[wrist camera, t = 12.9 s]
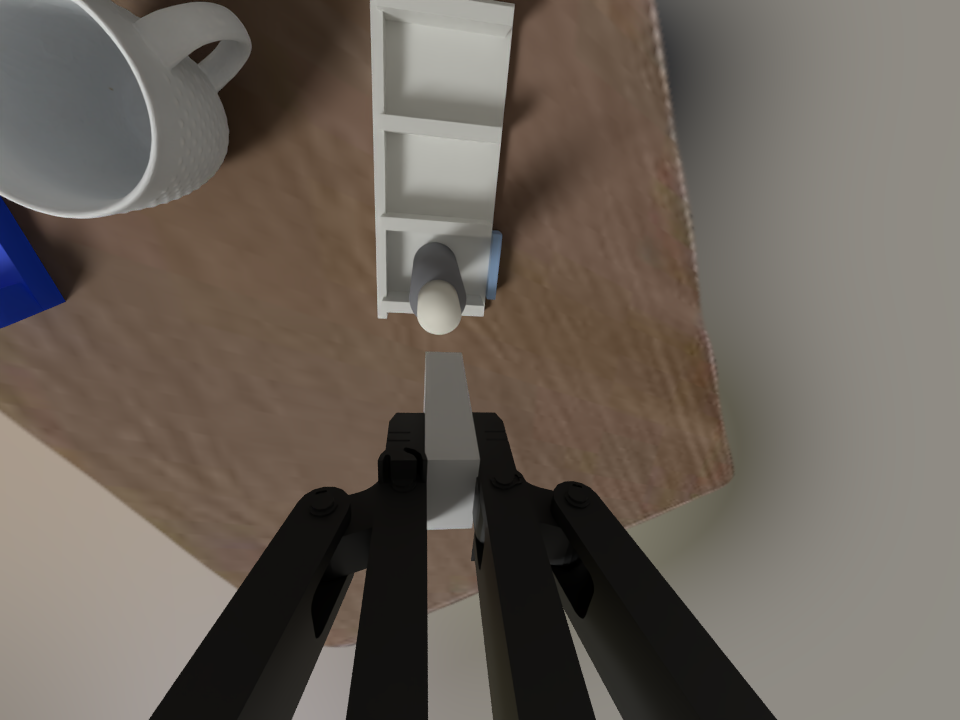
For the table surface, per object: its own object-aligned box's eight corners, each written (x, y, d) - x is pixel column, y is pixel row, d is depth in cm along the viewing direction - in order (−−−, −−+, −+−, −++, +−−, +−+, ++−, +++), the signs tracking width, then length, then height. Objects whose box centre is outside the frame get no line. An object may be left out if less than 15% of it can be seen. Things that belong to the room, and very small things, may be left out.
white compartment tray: (374, -14, 29) (367, -37, 25) (522, 9, 30) (535, -10, 27) (381, 307, 39) (376, 322, 36) (490, 311, 41) (496, 327, 37)
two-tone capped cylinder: (413, 240, 36) (407, 282, 24) (458, 243, 36) (472, 285, 25) (412, 284, 38) (407, 342, 26) (455, 286, 38) (468, 343, 27)
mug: (214, -45, 27) (56, -192, 15) (325, 121, 32) (267, 103, 20) (57, 86, 29) (-186, 43, 18) (183, 222, 34) (58, 259, 22)
